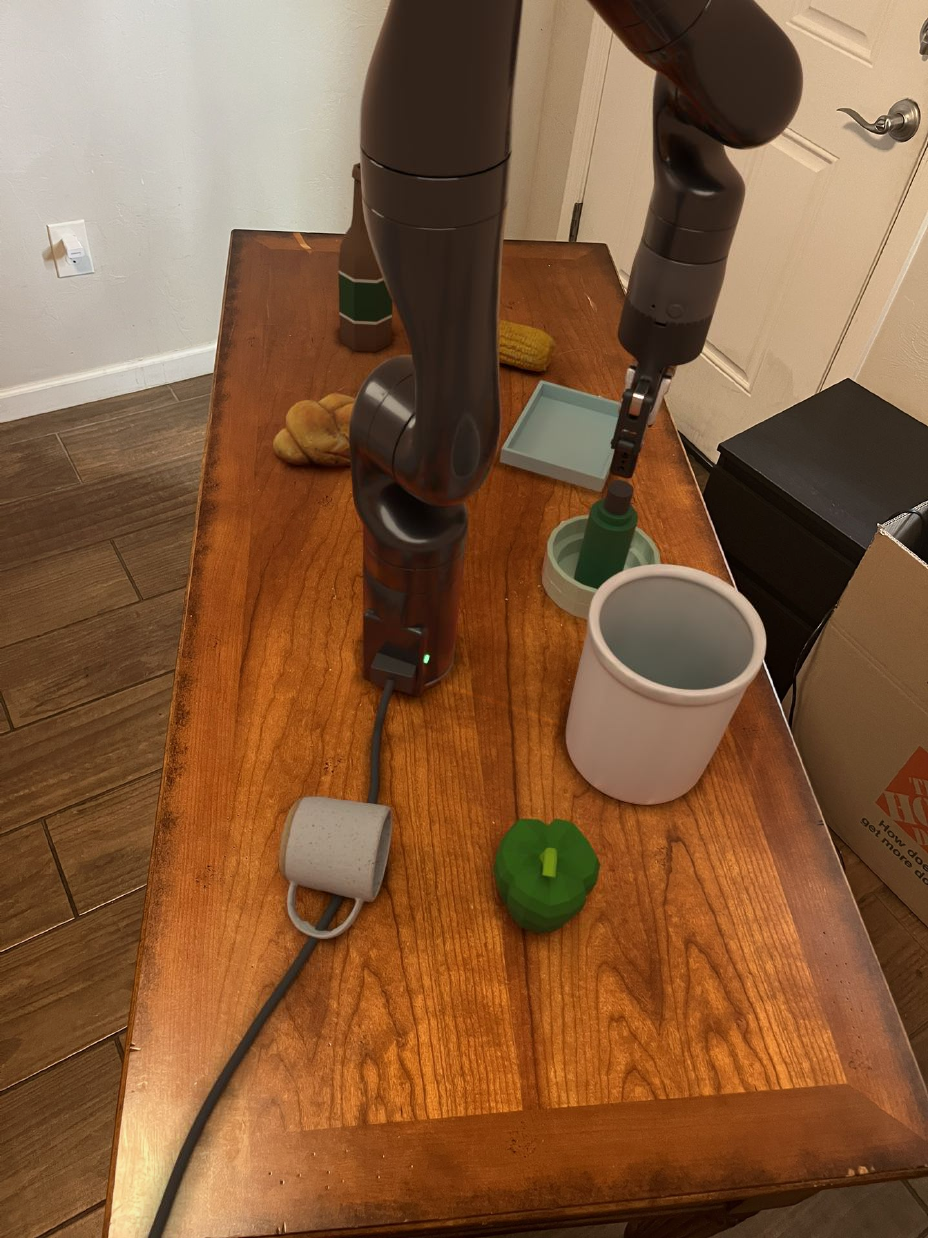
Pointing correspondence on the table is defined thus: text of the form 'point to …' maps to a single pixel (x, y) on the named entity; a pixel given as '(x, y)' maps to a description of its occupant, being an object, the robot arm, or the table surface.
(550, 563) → the bowl
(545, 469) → the tray
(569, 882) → the bell pepper
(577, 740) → the utensil holder
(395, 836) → the table surface
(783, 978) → the table surface
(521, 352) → the food
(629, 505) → the bottle
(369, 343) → the beer bottle
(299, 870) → the ceramic mug
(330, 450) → the bread roll
